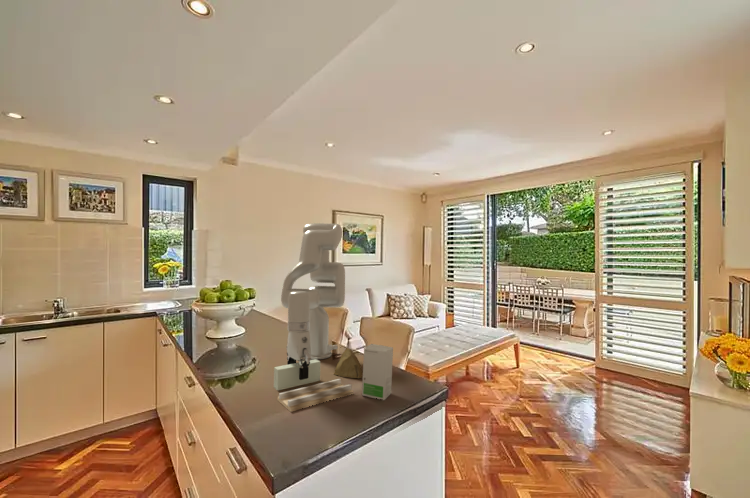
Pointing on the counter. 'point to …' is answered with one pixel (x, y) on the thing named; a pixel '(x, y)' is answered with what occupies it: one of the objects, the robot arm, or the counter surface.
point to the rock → (348, 365)
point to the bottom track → (314, 394)
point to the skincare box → (377, 371)
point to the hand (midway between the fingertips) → (297, 375)
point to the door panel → (295, 375)
